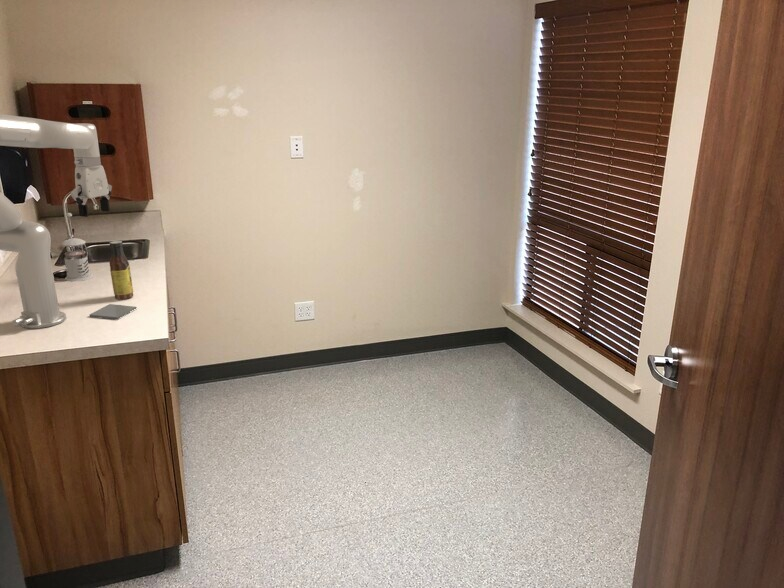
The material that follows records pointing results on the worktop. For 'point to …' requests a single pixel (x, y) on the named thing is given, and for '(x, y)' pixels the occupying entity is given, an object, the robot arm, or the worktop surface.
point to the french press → (76, 260)
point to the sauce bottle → (120, 272)
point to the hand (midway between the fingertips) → (95, 213)
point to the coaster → (112, 311)
